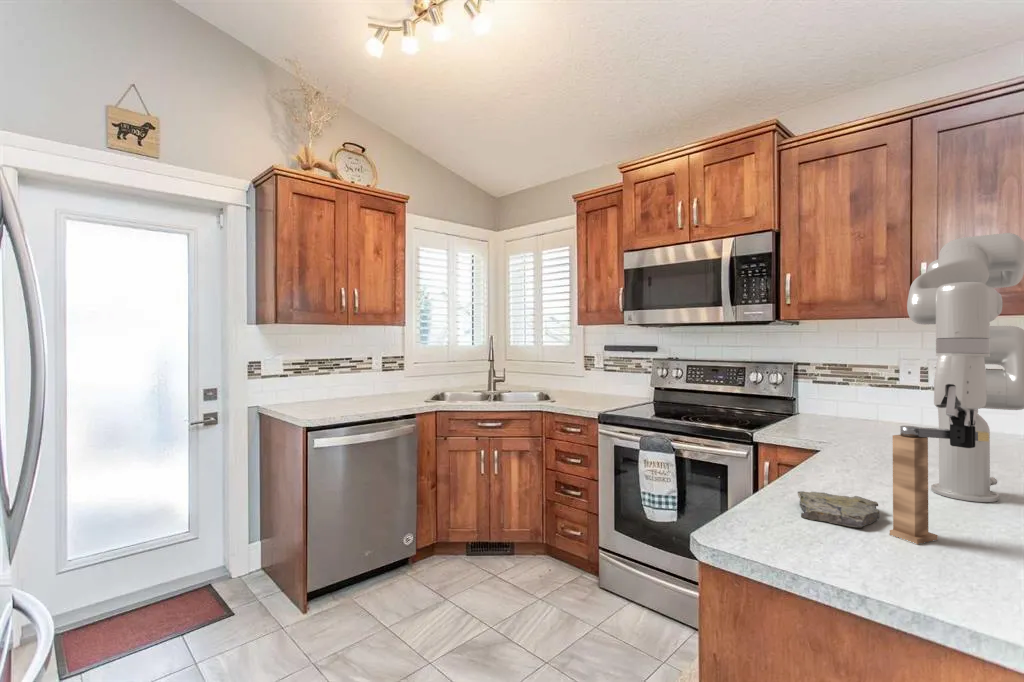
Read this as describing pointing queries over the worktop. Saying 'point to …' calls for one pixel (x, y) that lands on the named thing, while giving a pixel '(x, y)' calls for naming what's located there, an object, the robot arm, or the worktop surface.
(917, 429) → the latch bar
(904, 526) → the post
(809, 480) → the worktop surface
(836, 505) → the stone
